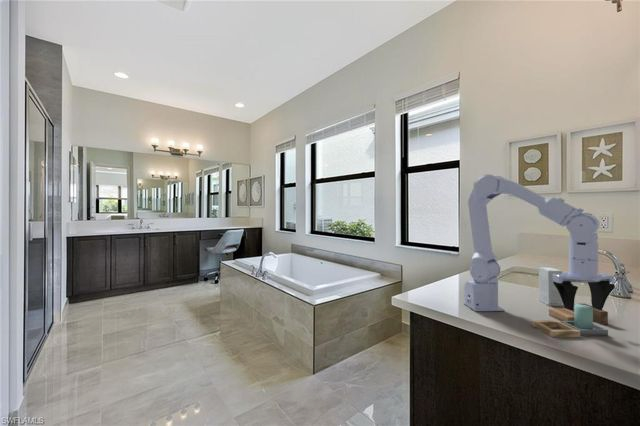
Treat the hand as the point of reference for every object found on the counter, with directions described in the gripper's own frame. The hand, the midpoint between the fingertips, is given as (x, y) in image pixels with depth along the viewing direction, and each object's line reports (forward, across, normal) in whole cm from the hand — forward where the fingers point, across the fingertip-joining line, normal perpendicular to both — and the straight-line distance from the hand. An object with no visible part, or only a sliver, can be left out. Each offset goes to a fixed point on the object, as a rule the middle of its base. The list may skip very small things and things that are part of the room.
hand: (582, 308), depth 75 cm
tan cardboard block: (+6, +2, +7) cm, 10 cm away
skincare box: (+6, +9, +21) cm, 24 cm away
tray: (+6, 0, 0) cm, 6 cm away
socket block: (+6, -7, 0) cm, 9 cm away
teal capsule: (+5, 0, 0) cm, 5 cm away
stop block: (+6, +10, +7) cm, 13 cm away
